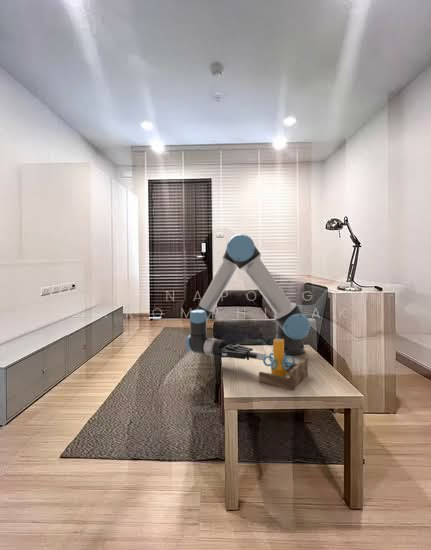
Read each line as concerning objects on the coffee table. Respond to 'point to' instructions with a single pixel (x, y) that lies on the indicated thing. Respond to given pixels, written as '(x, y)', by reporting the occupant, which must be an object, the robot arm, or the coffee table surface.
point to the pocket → (295, 377)
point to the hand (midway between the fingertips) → (264, 356)
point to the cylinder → (279, 359)
